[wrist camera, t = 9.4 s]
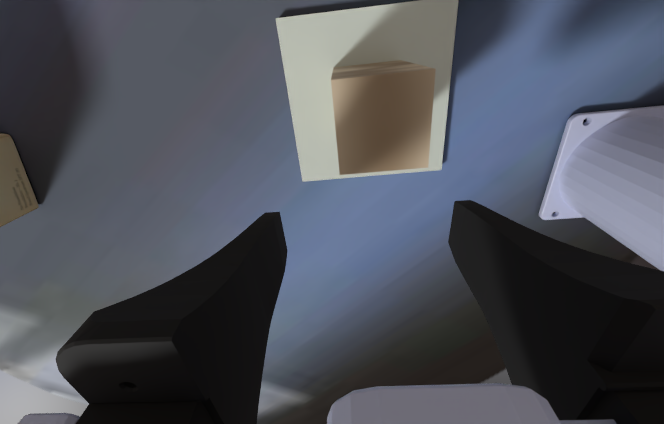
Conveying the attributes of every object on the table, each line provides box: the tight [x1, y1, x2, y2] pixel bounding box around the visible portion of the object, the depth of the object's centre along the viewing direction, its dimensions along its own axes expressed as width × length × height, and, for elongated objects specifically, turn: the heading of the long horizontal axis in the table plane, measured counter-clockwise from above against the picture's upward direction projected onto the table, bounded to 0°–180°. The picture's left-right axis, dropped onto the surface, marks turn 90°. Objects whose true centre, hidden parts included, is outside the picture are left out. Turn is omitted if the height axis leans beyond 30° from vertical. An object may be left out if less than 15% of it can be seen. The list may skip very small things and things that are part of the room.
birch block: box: [331, 60, 436, 175], centre depth 15 cm, size 4×4×7 cm
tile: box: [276, 0, 458, 181], centre depth 18 cm, size 10×10×1 cm
